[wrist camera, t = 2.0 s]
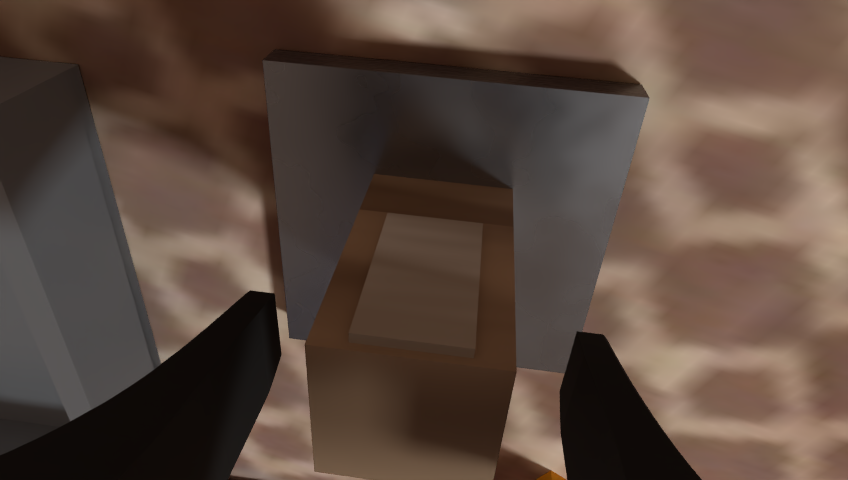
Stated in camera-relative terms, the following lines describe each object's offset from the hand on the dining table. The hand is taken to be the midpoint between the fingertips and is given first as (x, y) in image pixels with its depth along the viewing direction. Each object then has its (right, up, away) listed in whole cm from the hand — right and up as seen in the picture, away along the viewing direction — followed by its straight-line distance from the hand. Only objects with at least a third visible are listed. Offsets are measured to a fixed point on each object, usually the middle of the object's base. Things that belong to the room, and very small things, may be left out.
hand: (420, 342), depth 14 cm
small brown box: (+1, +3, +4) cm, 5 cm away
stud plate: (+1, +3, +5) cm, 6 cm away
